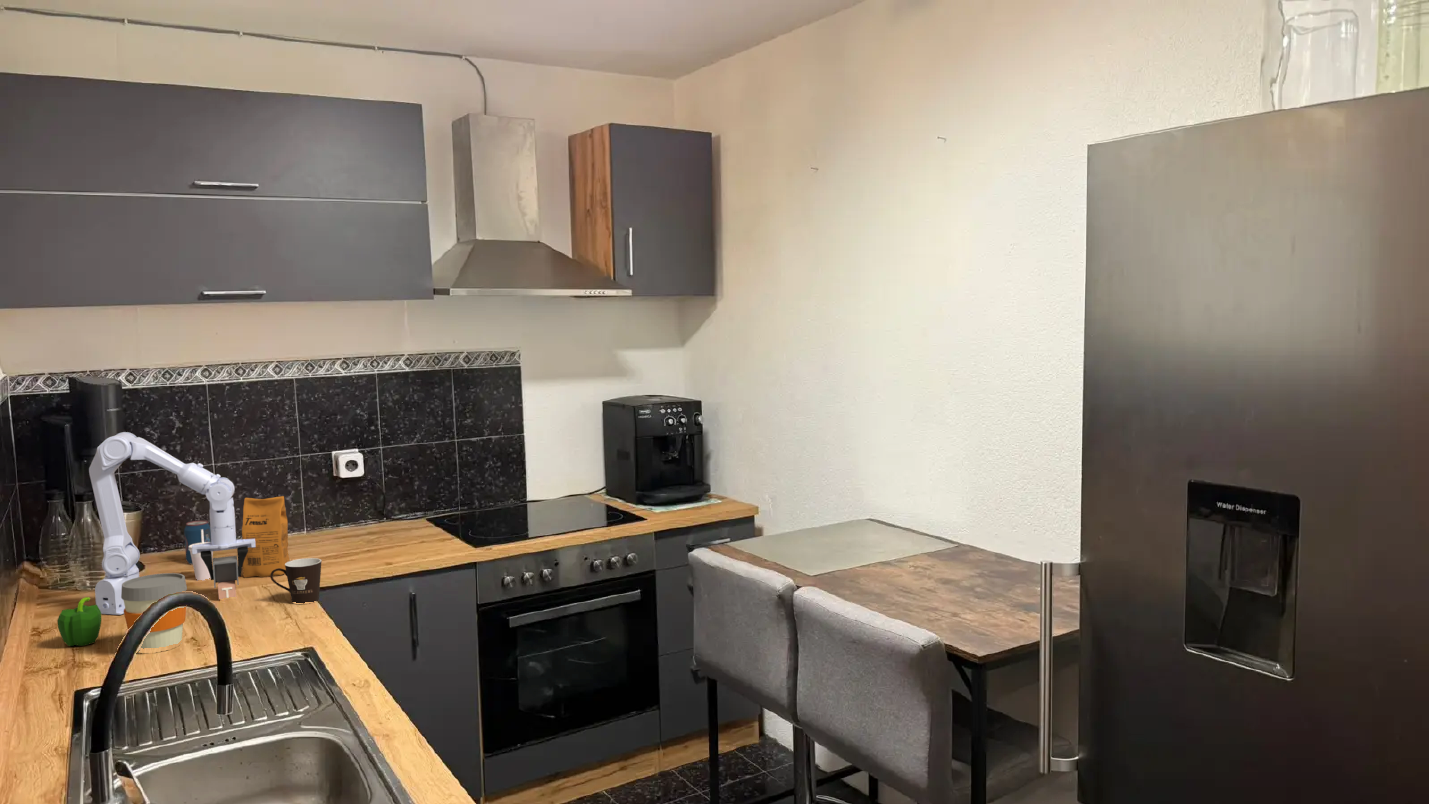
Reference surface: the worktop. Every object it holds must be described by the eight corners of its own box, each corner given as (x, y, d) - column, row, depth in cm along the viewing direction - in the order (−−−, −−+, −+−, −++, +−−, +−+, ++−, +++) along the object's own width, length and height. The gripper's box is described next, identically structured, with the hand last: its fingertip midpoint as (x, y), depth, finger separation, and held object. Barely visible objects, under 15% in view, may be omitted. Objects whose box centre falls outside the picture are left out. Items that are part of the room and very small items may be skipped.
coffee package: (250, 569, 275) (245, 494, 273) (295, 567, 276) (290, 493, 274) (236, 579, 265) (232, 501, 263) (283, 577, 266) (278, 499, 264)
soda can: (189, 560, 286) (186, 521, 285) (214, 558, 289) (212, 519, 287) (184, 565, 280) (181, 525, 279) (210, 563, 282) (207, 523, 281)
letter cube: (236, 599, 246) (235, 584, 245) (219, 601, 244) (218, 586, 243) (235, 595, 249) (234, 580, 249) (218, 597, 247) (217, 582, 247)
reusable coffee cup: (111, 655, 205) (106, 588, 204) (153, 636, 217) (148, 572, 216) (164, 657, 203) (159, 589, 202) (203, 638, 216) (199, 573, 214)
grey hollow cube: (238, 584, 245) (237, 560, 245) (214, 588, 242) (212, 563, 242) (238, 579, 250) (236, 555, 249) (214, 582, 247) (212, 558, 247)
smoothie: (205, 582, 262) (201, 532, 260) (185, 581, 263) (181, 531, 262) (221, 576, 268) (218, 527, 267) (201, 575, 269) (198, 526, 268)
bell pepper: (72, 652, 208) (69, 607, 207) (52, 646, 212) (48, 602, 211) (112, 640, 215) (109, 597, 214) (92, 635, 219) (89, 592, 218)
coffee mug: (330, 596, 246) (328, 559, 245) (308, 606, 238) (306, 567, 237) (293, 594, 249) (290, 556, 248) (269, 603, 241) (267, 565, 240)
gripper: (190, 532, 238) (193, 585, 239) (254, 525, 245) (257, 577, 246) (191, 526, 244) (194, 578, 245) (253, 520, 251) (256, 570, 252)
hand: (226, 577), depth 246 cm, fingers closed on grey hollow cube, 6 cm apart
